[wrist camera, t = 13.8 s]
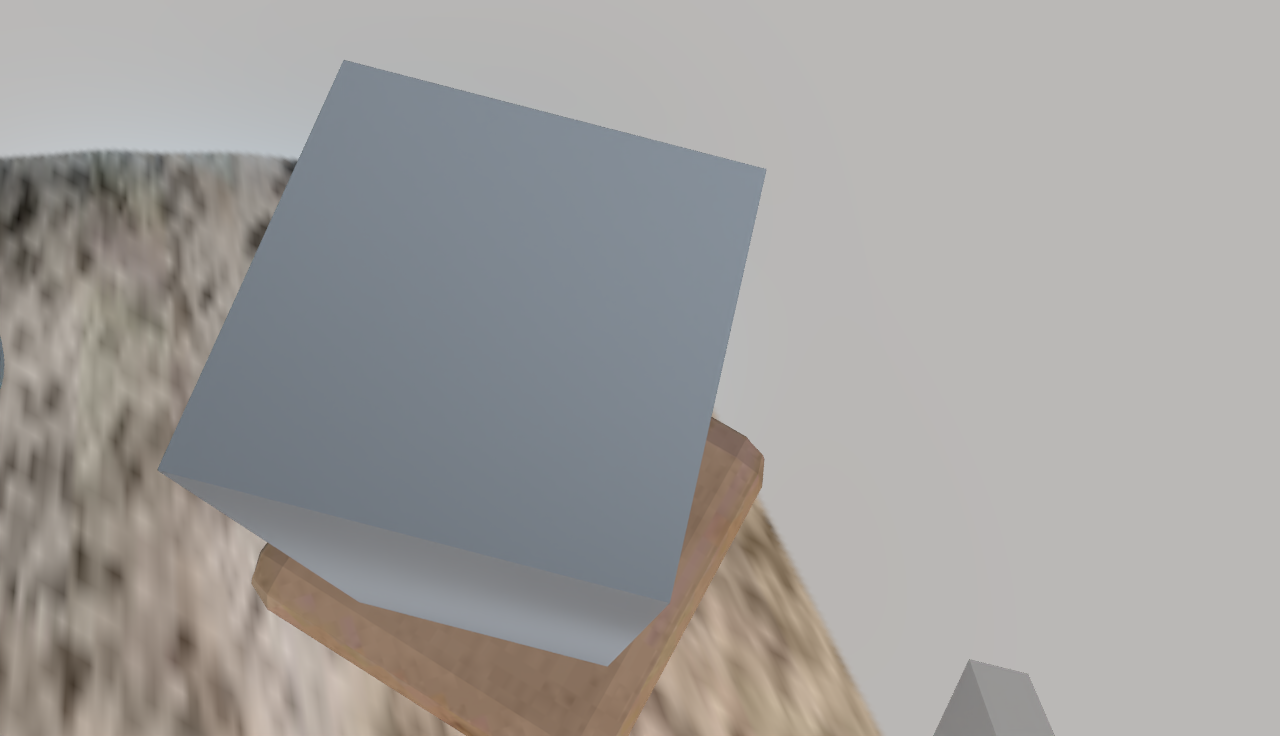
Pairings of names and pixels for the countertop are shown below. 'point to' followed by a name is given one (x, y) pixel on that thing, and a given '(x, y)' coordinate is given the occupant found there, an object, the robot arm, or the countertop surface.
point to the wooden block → (514, 673)
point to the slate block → (477, 363)
